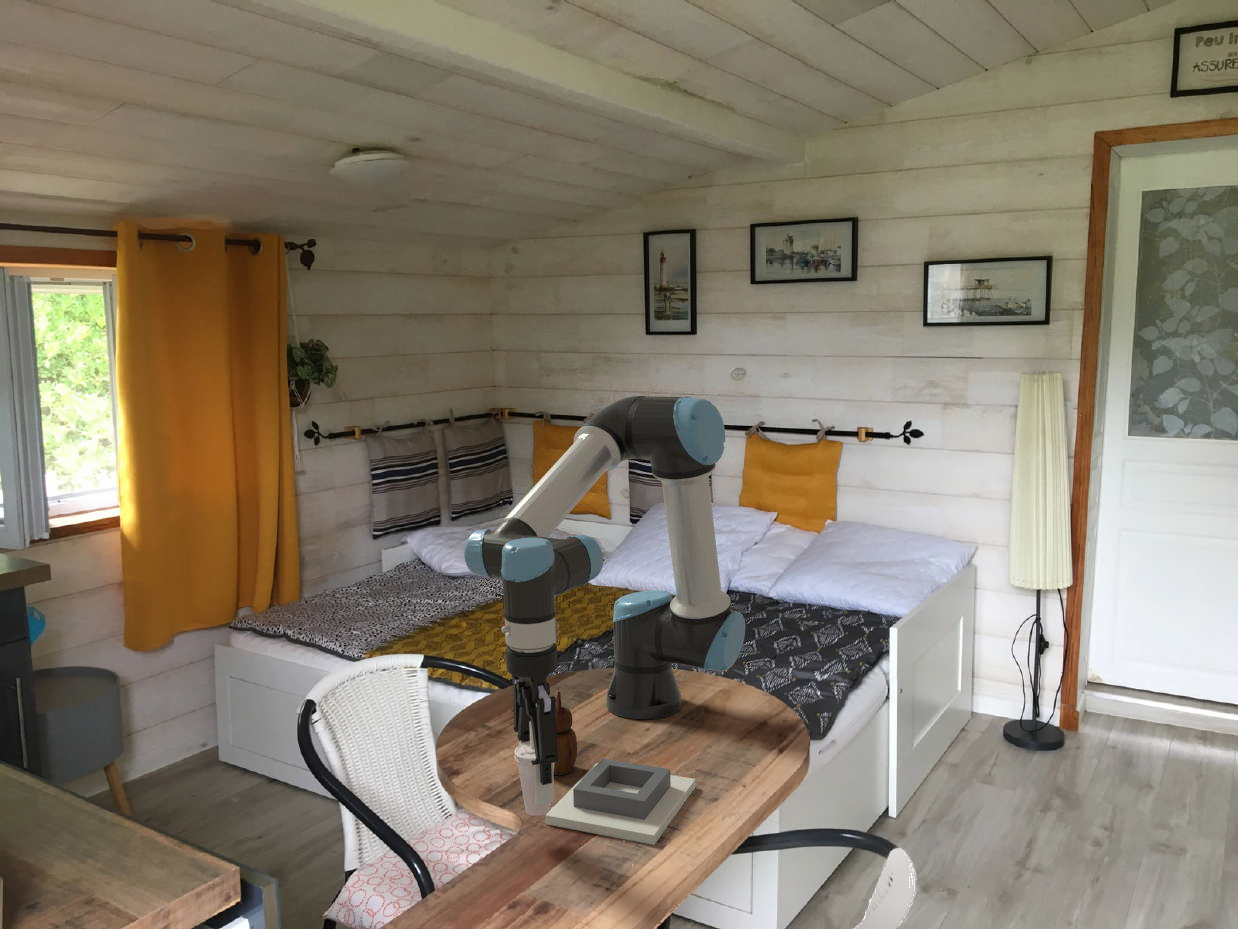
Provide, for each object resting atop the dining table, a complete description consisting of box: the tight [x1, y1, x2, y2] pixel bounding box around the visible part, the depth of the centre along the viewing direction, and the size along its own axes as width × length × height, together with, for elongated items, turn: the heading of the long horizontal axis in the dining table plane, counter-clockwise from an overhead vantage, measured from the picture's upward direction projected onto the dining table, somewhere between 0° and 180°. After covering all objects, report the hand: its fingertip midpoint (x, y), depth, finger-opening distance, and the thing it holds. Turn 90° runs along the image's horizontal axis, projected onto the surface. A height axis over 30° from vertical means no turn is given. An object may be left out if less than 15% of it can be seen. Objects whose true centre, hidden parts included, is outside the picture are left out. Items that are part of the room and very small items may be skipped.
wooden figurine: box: [553, 691, 578, 776], centre depth 177 cm, size 7×6×15 cm
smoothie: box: [514, 721, 554, 817], centre depth 153 cm, size 6×6×14 cm
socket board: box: [545, 757, 697, 846], centre depth 165 cm, size 20×18×4 cm
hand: (537, 791), depth 154 cm, fingers closed on smoothie, 6 cm apart
